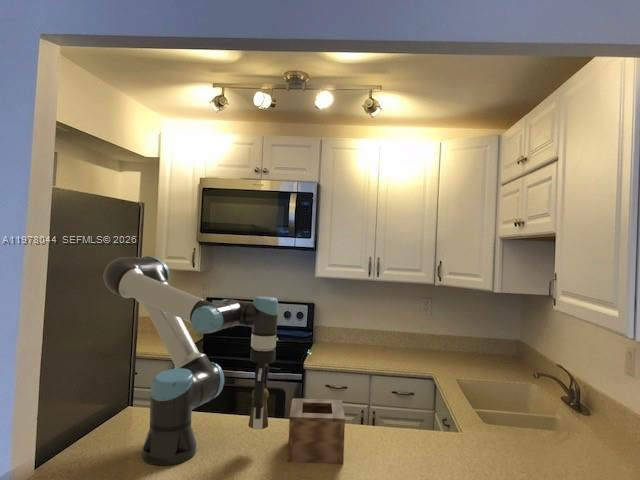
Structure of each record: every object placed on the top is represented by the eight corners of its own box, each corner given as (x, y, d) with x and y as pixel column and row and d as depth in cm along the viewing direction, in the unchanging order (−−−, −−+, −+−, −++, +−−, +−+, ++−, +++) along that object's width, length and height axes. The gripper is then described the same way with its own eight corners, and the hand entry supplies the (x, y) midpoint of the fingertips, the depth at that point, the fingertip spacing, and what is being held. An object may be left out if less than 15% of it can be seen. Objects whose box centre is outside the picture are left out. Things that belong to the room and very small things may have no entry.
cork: (249, 429, 134) (251, 392, 134) (247, 421, 140) (249, 385, 140) (269, 428, 136) (272, 391, 136) (266, 420, 141) (268, 385, 141)
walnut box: (287, 462, 130) (289, 416, 131) (291, 438, 146) (292, 398, 147) (343, 464, 131) (344, 418, 131) (340, 440, 147) (341, 399, 147)
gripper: (272, 356, 128) (267, 438, 128) (278, 341, 147) (274, 413, 147) (246, 355, 128) (241, 436, 128) (255, 340, 147) (251, 411, 147)
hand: (259, 423), depth 138 cm, fingers closed on cork, 6 cm apart
